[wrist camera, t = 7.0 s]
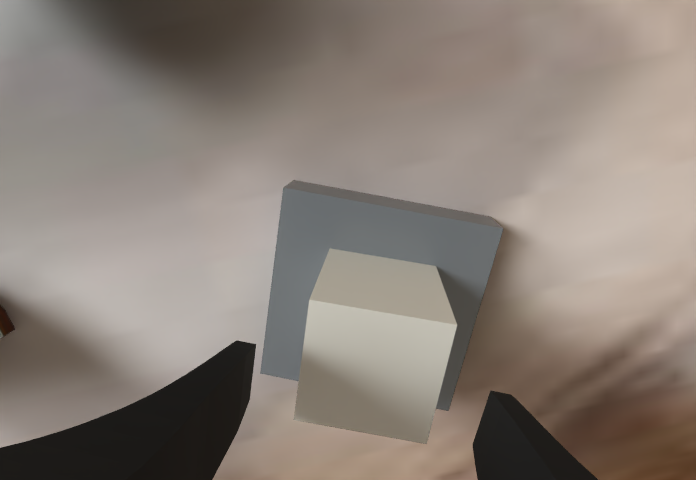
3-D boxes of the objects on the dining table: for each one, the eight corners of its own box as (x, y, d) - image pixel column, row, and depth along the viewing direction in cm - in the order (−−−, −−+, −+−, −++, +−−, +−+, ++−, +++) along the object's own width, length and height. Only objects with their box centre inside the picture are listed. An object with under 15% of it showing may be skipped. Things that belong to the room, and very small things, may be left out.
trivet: (442, 384, 21) (448, 410, 19) (271, 350, 21) (260, 373, 19) (490, 216, 18) (503, 228, 16) (293, 180, 18) (283, 187, 16)
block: (414, 358, 18) (426, 444, 13) (316, 340, 18) (293, 419, 14) (435, 265, 17) (457, 324, 12) (329, 248, 17) (309, 299, 12)
